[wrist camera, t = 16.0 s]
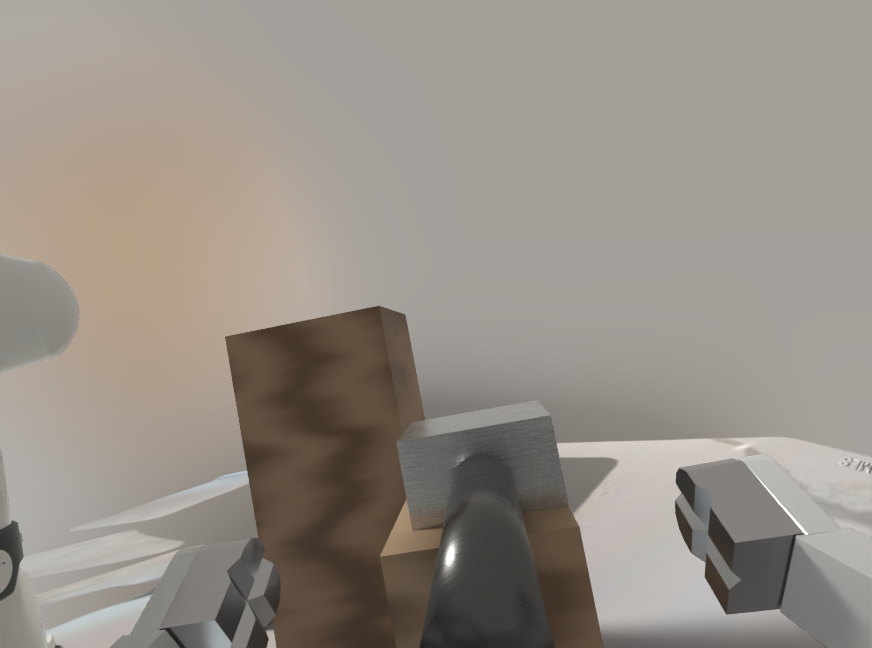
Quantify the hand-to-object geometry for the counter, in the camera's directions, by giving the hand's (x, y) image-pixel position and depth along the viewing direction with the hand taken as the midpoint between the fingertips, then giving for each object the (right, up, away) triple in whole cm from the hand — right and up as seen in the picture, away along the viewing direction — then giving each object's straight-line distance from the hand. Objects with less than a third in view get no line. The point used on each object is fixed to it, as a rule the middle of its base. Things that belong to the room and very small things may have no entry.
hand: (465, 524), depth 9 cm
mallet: (+1, -5, +8) cm, 10 cm away
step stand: (0, -21, +18) cm, 28 cm away
